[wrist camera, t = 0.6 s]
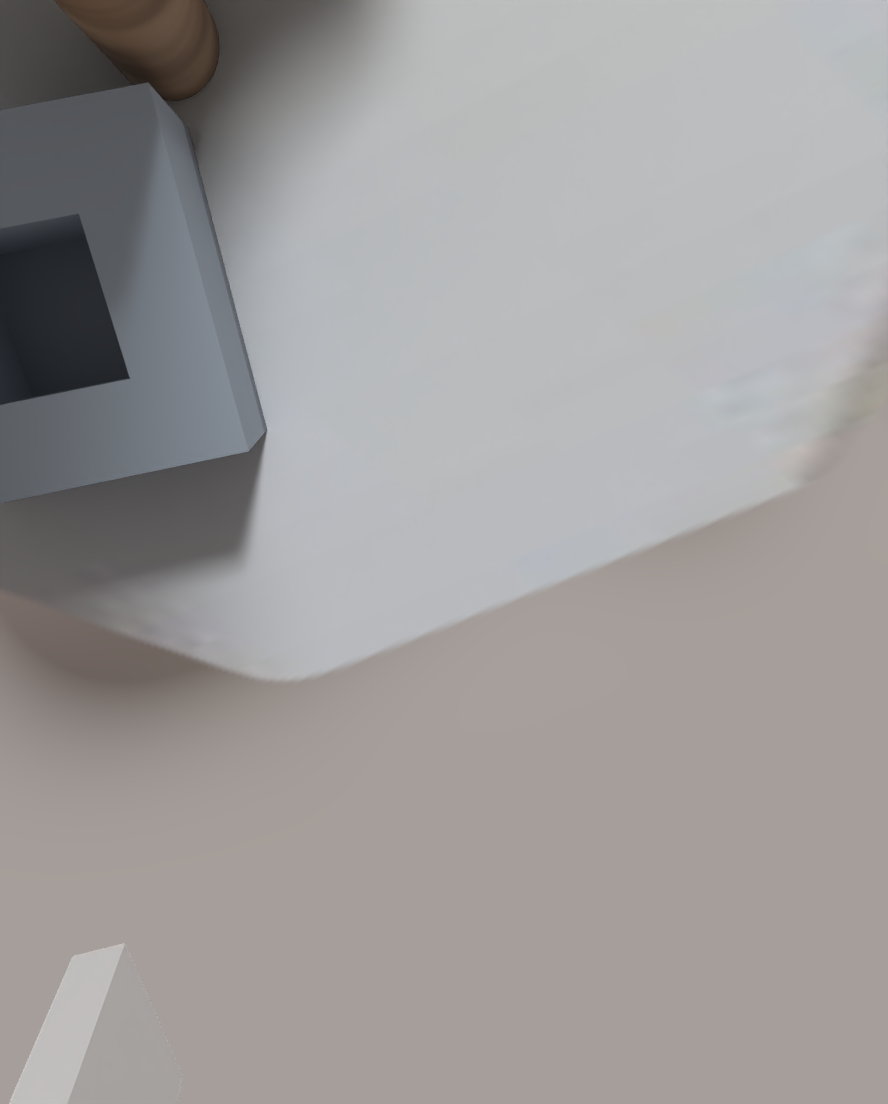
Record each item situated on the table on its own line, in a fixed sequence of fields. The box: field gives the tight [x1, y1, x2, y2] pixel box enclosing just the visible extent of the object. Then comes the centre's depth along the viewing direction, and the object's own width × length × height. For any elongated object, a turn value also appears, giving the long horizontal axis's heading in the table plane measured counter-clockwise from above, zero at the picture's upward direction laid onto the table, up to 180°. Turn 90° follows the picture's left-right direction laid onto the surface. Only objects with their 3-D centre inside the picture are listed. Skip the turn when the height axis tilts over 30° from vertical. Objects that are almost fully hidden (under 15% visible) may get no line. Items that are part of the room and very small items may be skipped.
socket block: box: [0, 83, 267, 503], centre depth 29 cm, size 12×12×6 cm
